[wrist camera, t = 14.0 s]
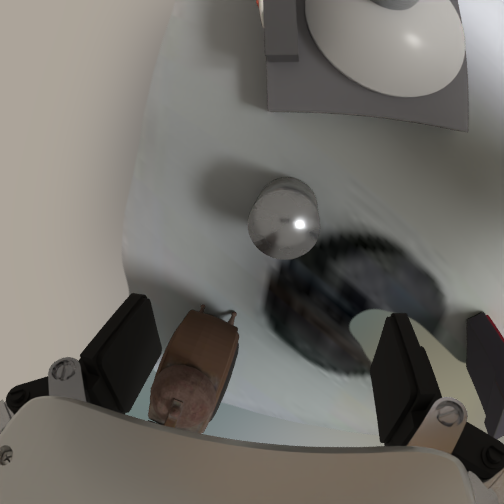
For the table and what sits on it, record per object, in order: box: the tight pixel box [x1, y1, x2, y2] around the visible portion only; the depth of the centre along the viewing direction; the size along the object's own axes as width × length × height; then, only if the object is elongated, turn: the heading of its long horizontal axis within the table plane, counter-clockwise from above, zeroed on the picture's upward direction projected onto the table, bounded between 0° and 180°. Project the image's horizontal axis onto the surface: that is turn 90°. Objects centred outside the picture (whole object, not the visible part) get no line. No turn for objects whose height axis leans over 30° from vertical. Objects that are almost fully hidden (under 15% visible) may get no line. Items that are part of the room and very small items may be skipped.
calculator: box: [466, 312, 504, 439], centre depth 26 cm, size 11×4×15 cm, turn 27°
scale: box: [256, 0, 469, 132], centre depth 18 cm, size 19×19×6 cm
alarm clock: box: [148, 304, 239, 434], centre depth 30 cm, size 14×7×20 cm, turn 162°
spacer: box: [248, 177, 320, 259], centre depth 27 cm, size 6×6×6 cm
